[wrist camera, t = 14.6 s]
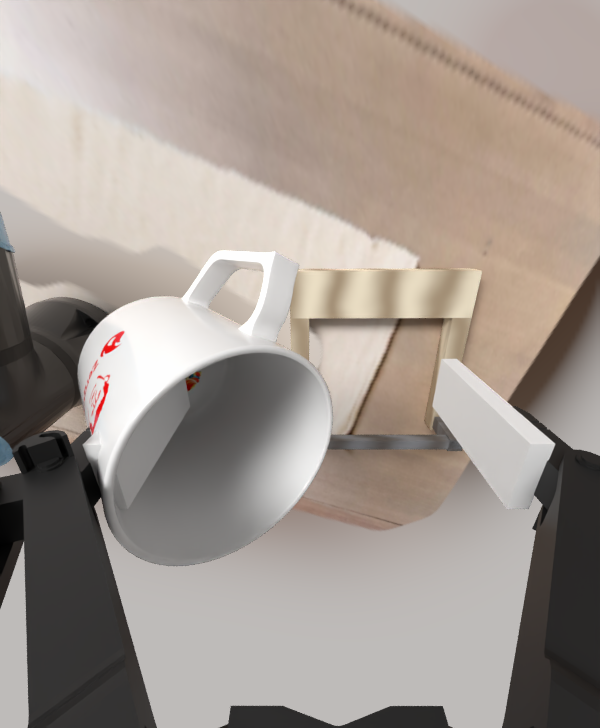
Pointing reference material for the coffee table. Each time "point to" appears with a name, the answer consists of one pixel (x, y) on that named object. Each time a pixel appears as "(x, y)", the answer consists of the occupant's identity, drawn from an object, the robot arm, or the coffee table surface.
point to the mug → (206, 414)
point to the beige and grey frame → (390, 300)
